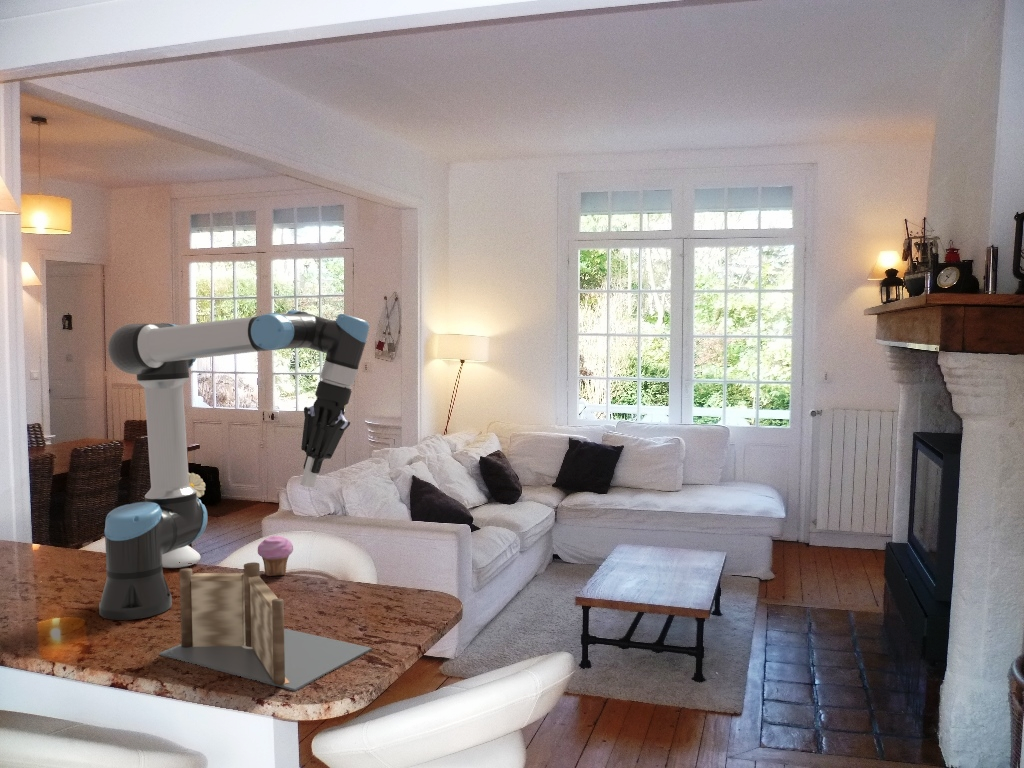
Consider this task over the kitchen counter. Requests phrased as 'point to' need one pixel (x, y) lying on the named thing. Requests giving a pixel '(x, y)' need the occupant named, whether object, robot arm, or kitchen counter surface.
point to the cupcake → (275, 554)
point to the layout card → (302, 658)
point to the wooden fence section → (216, 607)
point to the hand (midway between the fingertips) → (306, 485)
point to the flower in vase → (187, 553)
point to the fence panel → (267, 628)
